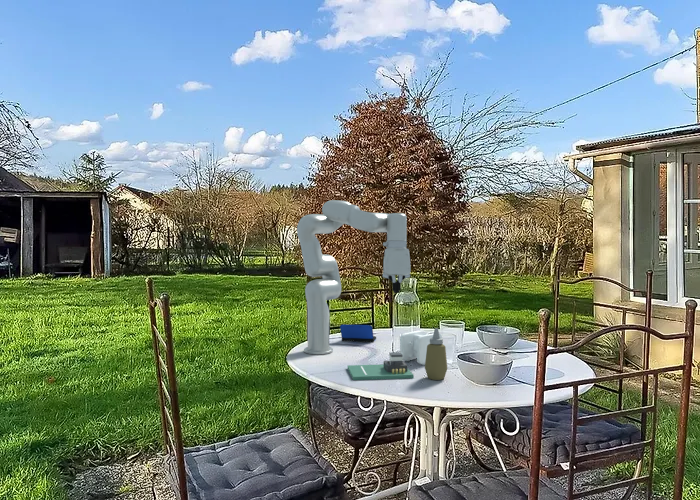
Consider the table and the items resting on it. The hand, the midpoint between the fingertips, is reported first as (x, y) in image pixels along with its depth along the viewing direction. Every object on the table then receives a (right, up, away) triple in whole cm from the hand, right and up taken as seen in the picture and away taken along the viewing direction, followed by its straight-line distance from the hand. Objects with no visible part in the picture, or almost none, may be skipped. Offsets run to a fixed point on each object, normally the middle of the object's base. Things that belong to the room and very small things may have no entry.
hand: (396, 292), depth 208 cm
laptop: (-14, -28, +50) cm, 59 cm away
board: (-7, -29, -8) cm, 31 cm away
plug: (-1, -28, -7) cm, 29 cm away
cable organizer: (+11, -29, +11) cm, 33 cm away
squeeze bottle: (+13, -30, -14) cm, 36 cm away
